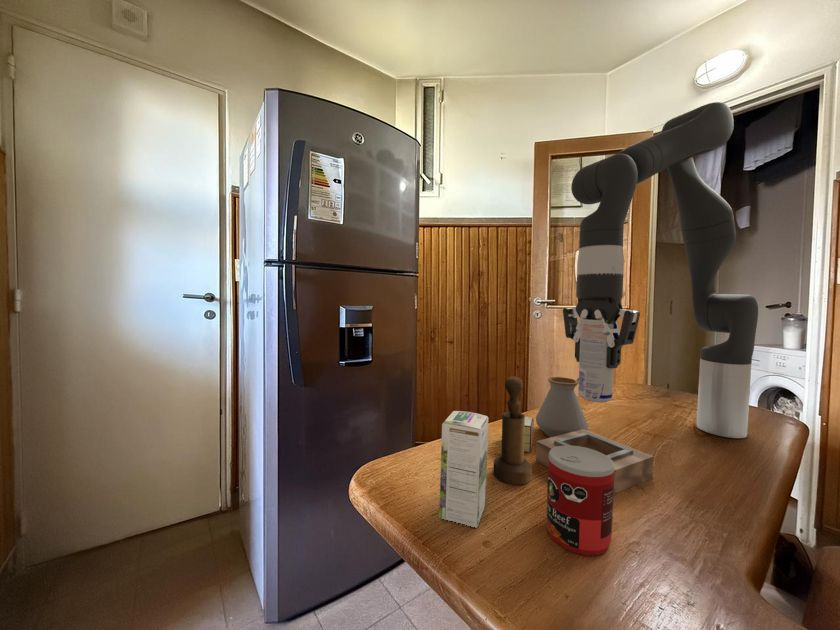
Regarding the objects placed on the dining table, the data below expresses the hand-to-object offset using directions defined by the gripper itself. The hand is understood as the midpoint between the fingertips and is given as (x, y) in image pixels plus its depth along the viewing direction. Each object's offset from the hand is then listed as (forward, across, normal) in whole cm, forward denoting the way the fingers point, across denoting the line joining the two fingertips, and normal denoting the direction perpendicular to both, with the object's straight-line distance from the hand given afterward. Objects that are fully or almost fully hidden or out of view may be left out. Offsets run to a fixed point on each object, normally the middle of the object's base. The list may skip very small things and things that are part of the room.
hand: (596, 364), depth 63 cm
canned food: (+20, -11, +18) cm, 29 cm away
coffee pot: (+20, +15, -13) cm, 29 cm away
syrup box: (+20, 0, +29) cm, 35 cm away
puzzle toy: (+20, +14, +5) cm, 25 cm away
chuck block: (+20, 0, 0) cm, 20 cm away
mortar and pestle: (+20, +5, +15) cm, 26 cm away
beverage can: (+7, 0, 0) cm, 7 cm away
